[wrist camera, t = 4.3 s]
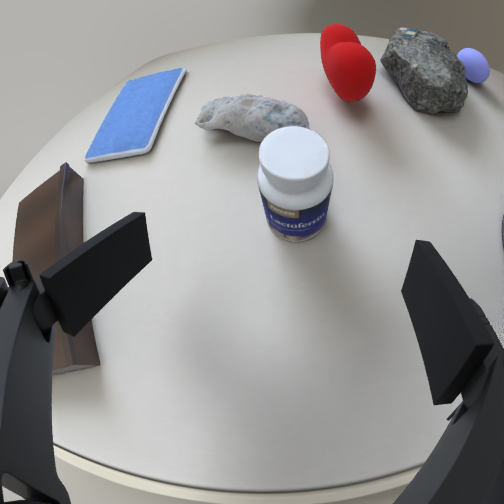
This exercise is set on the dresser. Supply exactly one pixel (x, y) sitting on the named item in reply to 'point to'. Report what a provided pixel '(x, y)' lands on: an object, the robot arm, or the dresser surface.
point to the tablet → (135, 117)
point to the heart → (346, 62)
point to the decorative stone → (250, 116)
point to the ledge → (56, 252)
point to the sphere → (474, 65)
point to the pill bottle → (295, 182)
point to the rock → (426, 71)
